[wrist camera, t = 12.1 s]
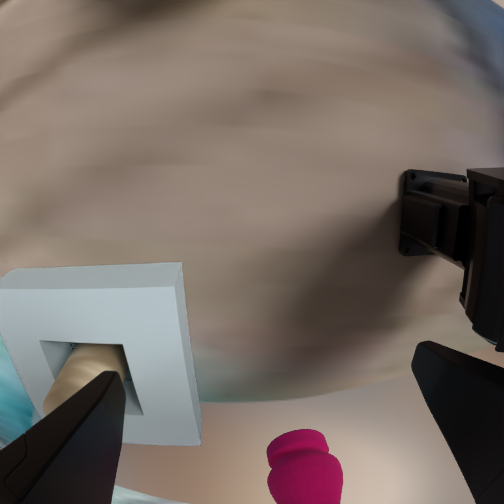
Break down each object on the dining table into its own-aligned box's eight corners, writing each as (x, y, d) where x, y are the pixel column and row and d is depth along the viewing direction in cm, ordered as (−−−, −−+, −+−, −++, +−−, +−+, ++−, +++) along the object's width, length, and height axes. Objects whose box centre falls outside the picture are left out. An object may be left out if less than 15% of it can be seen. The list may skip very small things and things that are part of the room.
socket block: (181, 262, 20) (174, 286, 17) (201, 411, 25) (200, 445, 21) (13, 268, 19) (-14, 288, 15) (61, 403, 23) (48, 431, 19)
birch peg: (126, 325, 21) (95, 398, 14) (137, 371, 23) (117, 446, 15) (75, 324, 21) (32, 390, 13) (89, 369, 22) (58, 437, 15)
